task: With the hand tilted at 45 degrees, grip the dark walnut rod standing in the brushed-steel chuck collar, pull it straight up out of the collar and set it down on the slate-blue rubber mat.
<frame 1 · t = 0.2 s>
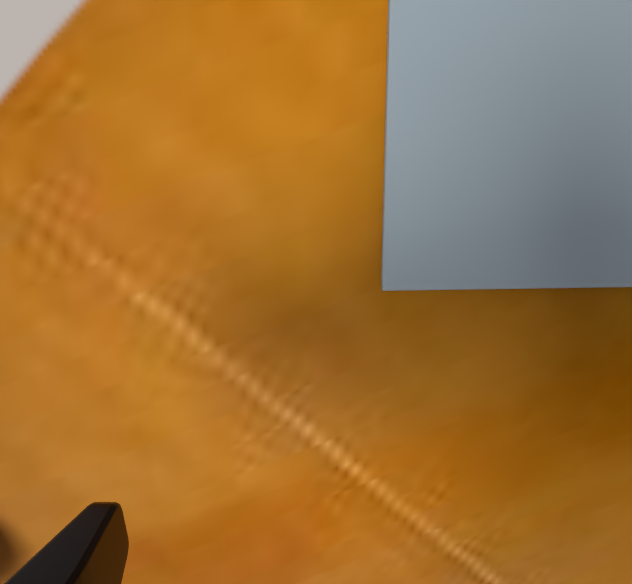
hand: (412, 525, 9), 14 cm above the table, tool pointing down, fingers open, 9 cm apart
rubber mat: (557, 125, 20), on the table
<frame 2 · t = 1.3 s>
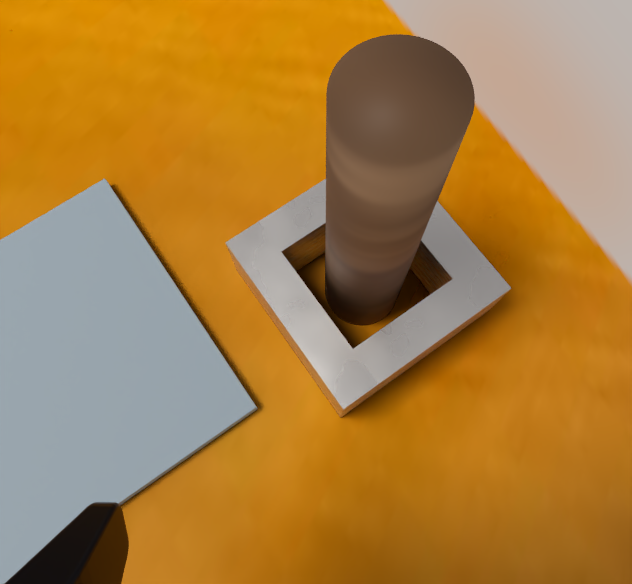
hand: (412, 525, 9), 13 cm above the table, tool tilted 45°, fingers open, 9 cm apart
walnut rod: (374, 226, 18), in the chuck collar
chuck collar: (361, 290, 24), on the table
rubber mat: (51, 372, 23), on the table
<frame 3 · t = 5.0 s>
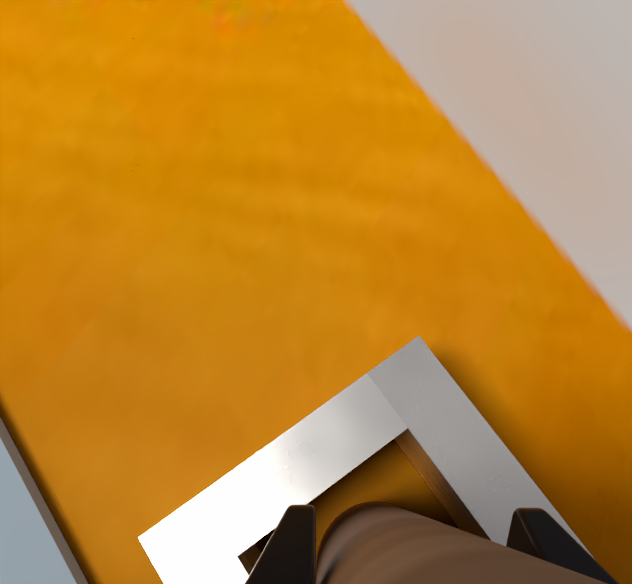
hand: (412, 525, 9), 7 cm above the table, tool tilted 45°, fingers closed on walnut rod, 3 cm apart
chuck collar: (376, 564, 15), on the table
when the fingers open (9 cm above the table, at t = 9.2 s): walnut rod drops 1 cm, resting on rubber mat.
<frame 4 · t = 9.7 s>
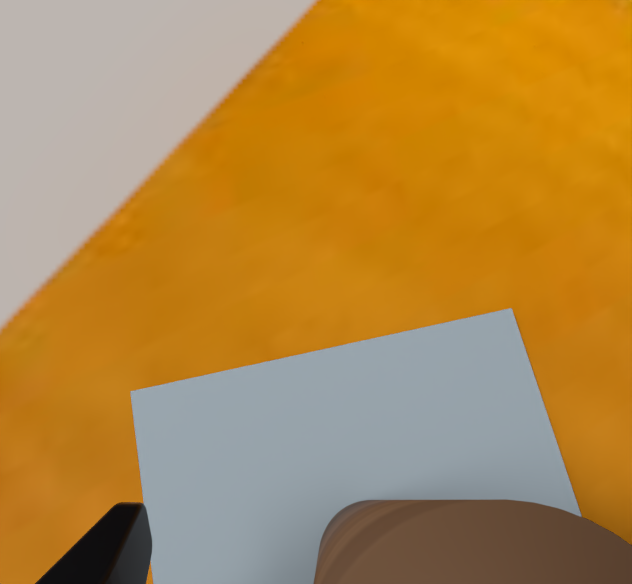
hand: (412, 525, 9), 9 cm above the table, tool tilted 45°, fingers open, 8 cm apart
rubber mat: (370, 554, 17), on the table
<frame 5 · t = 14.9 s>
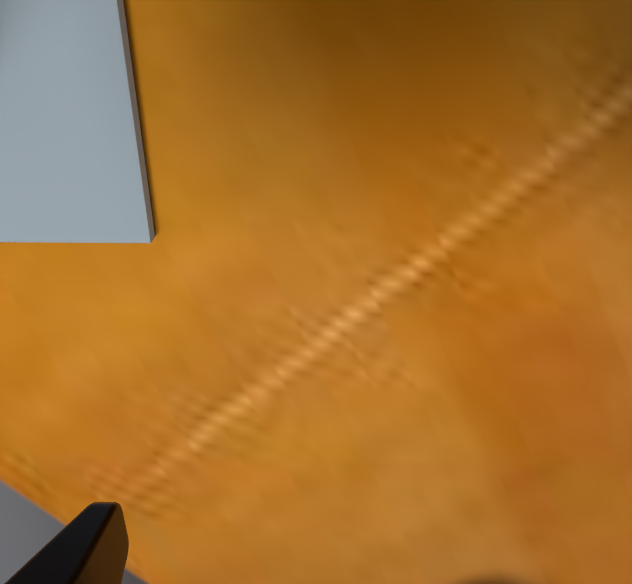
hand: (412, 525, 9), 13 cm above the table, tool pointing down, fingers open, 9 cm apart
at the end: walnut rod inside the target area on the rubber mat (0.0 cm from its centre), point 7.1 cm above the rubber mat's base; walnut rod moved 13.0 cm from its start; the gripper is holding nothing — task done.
